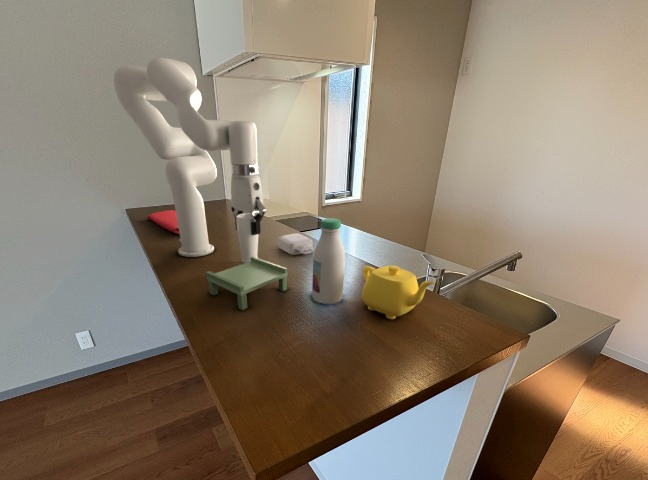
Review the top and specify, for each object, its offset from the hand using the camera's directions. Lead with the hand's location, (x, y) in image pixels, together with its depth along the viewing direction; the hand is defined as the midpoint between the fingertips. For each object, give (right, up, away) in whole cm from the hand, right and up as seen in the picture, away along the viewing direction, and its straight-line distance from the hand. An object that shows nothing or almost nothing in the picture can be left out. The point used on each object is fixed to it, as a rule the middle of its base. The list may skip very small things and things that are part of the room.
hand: (248, 231), depth 99 cm
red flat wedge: (-41, +15, +53) cm, 69 cm away
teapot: (+37, -24, -23) cm, 50 cm away
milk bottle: (+23, -21, -17) cm, 35 cm away
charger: (+17, -5, +15) cm, 23 cm away
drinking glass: (0, -9, +5) cm, 10 cm away
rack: (+2, -19, -13) cm, 23 cm away
